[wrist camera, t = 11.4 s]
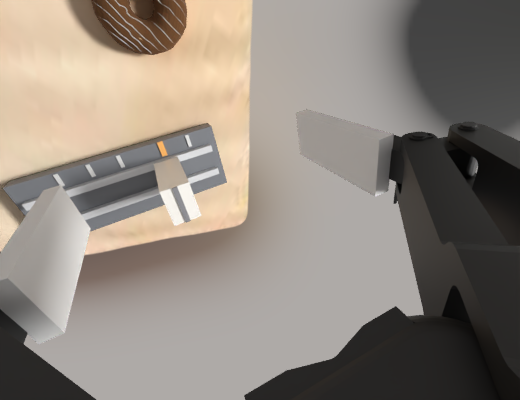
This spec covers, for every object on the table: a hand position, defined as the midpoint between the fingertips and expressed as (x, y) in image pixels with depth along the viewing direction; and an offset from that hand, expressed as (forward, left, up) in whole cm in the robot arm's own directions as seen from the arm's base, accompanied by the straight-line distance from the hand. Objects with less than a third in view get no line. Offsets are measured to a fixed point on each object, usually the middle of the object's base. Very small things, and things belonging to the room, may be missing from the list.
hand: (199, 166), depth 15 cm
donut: (-11, +2, -29) cm, 31 cm away
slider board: (+10, -8, -29) cm, 31 cm away
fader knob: (+10, -2, -26) cm, 28 cm away
